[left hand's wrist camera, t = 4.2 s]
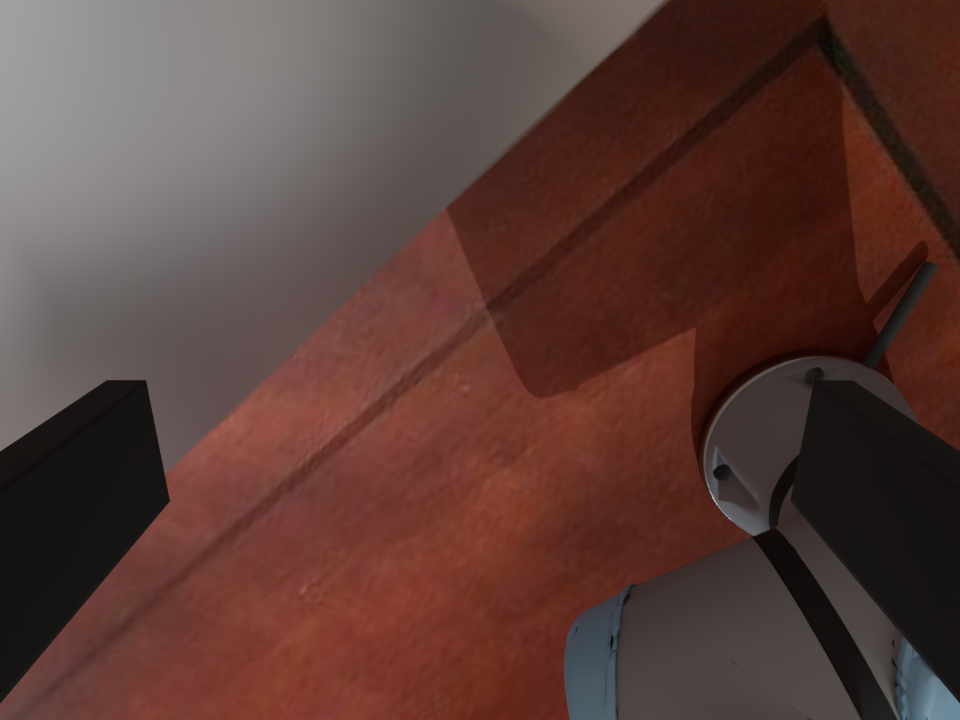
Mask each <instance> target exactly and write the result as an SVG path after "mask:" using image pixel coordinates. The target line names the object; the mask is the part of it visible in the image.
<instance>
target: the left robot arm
mask: <svg viewBox="0 0 960 720" xmlns="http://www.w3.org/2000/svg"><path fill="white" fill-rule="evenodd" d="M937 268H938V266H937V265H935V264H933V263H930V262H924V263H923V265H922V266H921V268H920V270H919V271H918V273H917V274H916V276H915V278H914V279H913V281H912V283H911V284H910V286H909V288H908V289H907V291H906V292H905V294H904V296H903V297H902V299H901V301H900V302H899V304H898V305H897V307H896V309H895V310H894V312H893V314H892V315H891V317H890V318H889V320H888V322H887V323H886V325H885V326H884V328H883V330H882V331H881V333H880V334H879V336H878V338H877V339H876V341H875V342H874V344H873V345H872V347H871V349H870V350H869V352H868V353H867V355H866V357H865V358H864V360H863V361H862V362H860V361H859V360H857V359H854V358H852V357H849V356H847V355H843V354H840V353H835V352H829V351H801V352H795V353H790V354H785V355H782V356H779V357H776V358H773V359H770V360H768V361H766V362H763V363H761V364H759V365H757V366H756V367H754V368H752V369H751V370H749V371H747V372H746V373H745V374H743V375H742V376H740V377H739V378H738V379H737V380H735V381H734V382H733V383H732V384H731V385H730V386H729V387H728V388H727V389H726V390H725V391H724V392H723V393H722V394H721V396H720V397H719V398H718V399H717V401H716V402H715V404H714V405H713V407H712V408H711V410H710V412H709V414H708V415H707V418H706V420H705V422H704V425H703V428H702V431H701V434H700V439H699V446H698V462H699V469H700V473H701V477H702V479H703V482H704V484H705V486H706V488H707V490H708V492H709V493H710V495H711V496H712V498H713V500H714V501H715V503H716V504H717V506H718V507H719V508H720V510H721V511H722V512H723V513H724V514H725V515H726V516H727V517H728V518H729V519H730V520H732V521H733V522H734V523H735V524H736V525H738V526H739V527H740V528H742V529H744V530H745V531H747V532H748V533H750V534H752V535H753V537H749V538H747V539H745V540H742V541H740V542H738V543H735V544H733V545H731V546H728V547H726V548H724V549H721V550H719V551H717V552H714V553H712V554H710V555H707V556H705V557H703V558H700V559H698V560H696V561H693V562H691V563H689V564H686V565H684V566H682V567H679V568H677V569H675V570H673V571H670V572H668V573H666V574H663V575H661V576H659V577H656V578H654V579H651V580H649V581H646V582H644V583H641V584H639V585H637V584H632V585H629V586H626V587H625V588H624V589H623V590H622V592H621V593H619V594H617V595H615V596H613V597H611V598H609V599H607V600H605V601H603V602H601V603H599V604H597V605H595V606H594V607H591V608H589V609H587V610H585V611H584V612H583V613H581V614H580V615H579V616H578V617H577V618H576V619H575V621H574V622H573V624H572V626H571V628H570V630H569V633H568V636H567V641H566V650H565V653H564V678H565V689H566V698H567V705H568V712H569V717H570V720H960V451H958V450H957V449H955V448H954V447H952V446H951V445H949V444H948V443H946V442H945V441H943V440H942V439H940V438H939V437H937V436H936V435H934V434H933V433H931V432H930V431H928V430H927V429H925V428H924V427H922V426H921V425H920V424H919V422H918V420H917V419H916V417H915V415H914V413H913V412H912V410H911V408H910V407H909V405H908V403H907V402H906V400H905V399H904V397H903V396H902V394H901V393H900V392H899V391H898V389H897V388H896V387H895V386H894V385H893V384H892V383H891V382H890V381H889V380H888V379H887V378H886V377H885V376H883V375H882V374H881V373H879V372H878V371H876V370H874V369H875V367H876V366H877V364H878V362H879V361H880V359H881V358H882V356H883V355H884V353H885V351H886V350H887V348H888V347H889V345H890V344H891V342H892V340H893V339H894V337H895V336H896V334H897V333H898V331H899V329H900V328H901V326H902V325H903V323H904V321H905V320H906V318H907V317H908V315H909V313H910V312H911V310H912V309H913V307H914V305H915V304H916V302H917V301H918V299H919V297H920V296H921V294H922V292H923V291H924V289H925V288H926V286H927V284H928V283H929V281H930V279H931V278H932V276H933V275H934V273H935V271H936V270H937ZM169 502H170V500H169V495H168V489H167V484H166V479H165V474H164V469H163V464H162V459H161V454H160V449H159V444H158V439H157V434H156V429H155V424H154V419H153V414H152V408H151V403H150V398H149V393H148V388H147V383H146V380H107V381H105V382H104V383H102V384H101V385H99V386H98V387H96V388H95V389H93V390H92V391H90V392H89V393H87V394H86V395H84V396H83V397H81V398H80V399H78V400H77V401H75V402H74V403H72V404H71V405H69V406H68V407H66V408H65V409H63V410H62V411H60V412H59V413H57V414H56V415H54V416H53V417H51V418H50V419H48V420H47V421H45V422H44V423H42V424H41V425H39V426H38V427H36V428H35V429H33V430H32V431H30V432H29V433H27V434H26V435H24V436H23V437H21V438H20V439H18V440H17V441H15V442H14V443H12V444H11V445H9V446H8V447H6V448H5V449H3V450H2V451H0V703H1V702H2V701H3V700H4V698H5V697H6V696H7V695H8V694H9V693H10V691H11V690H12V689H13V688H14V687H15V685H16V684H17V683H18V682H19V681H20V679H21V678H22V677H23V676H24V675H25V673H26V672H27V671H28V670H29V669H30V667H31V666H32V665H33V664H34V663H35V661H36V660H37V659H38V658H39V657H40V656H41V654H42V653H43V652H44V651H45V650H46V648H47V647H48V646H49V645H50V644H51V642H52V641H53V640H54V639H55V638H56V636H57V635H58V634H59V633H60V632H61V630H62V629H63V628H64V627H65V626H66V625H67V623H68V622H69V621H70V620H71V619H72V617H73V616H74V615H75V614H76V613H77V611H78V610H79V609H80V608H81V607H82V605H83V604H84V603H85V602H86V601H87V599H88V598H89V597H90V596H91V595H92V594H93V592H94V591H95V590H96V589H97V588H98V586H99V585H100V584H101V583H102V582H103V580H104V579H105V578H106V577H107V576H108V574H109V573H110V572H111V571H112V570H113V568H114V567H115V566H116V565H117V564H118V562H119V561H120V560H121V559H122V558H123V557H124V555H125V554H126V553H127V552H128V551H129V549H130V548H131V547H132V546H133V545H134V543H135V542H136V541H137V540H138V539H139V537H140V536H141V535H142V534H143V533H144V531H145V530H146V529H147V528H148V527H149V526H150V524H151V523H152V522H153V521H154V520H155V518H156V517H157V516H158V515H159V514H160V512H161V511H162V510H163V509H164V508H165V506H166V505H167V504H168V503H169Z"/></svg>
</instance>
